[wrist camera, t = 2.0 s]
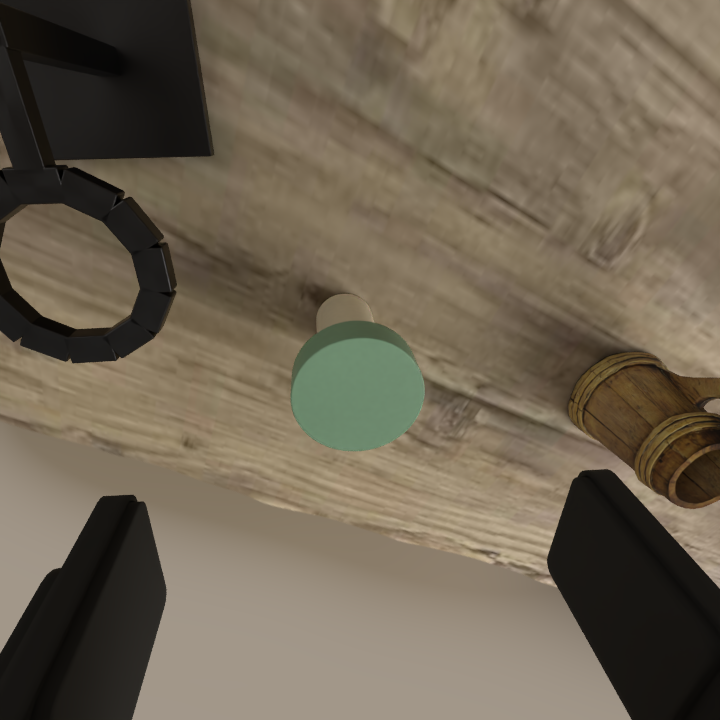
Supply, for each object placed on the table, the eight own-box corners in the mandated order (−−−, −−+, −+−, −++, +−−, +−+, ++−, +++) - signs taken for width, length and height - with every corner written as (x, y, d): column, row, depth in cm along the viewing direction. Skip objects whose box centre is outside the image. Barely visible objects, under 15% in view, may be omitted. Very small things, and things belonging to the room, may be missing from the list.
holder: (183, -49, 24) (85, -181, 14) (234, 280, 33) (199, 356, 22) (-15, -51, 23) (-281, -193, 13) (92, 287, 32) (-14, 368, 21)
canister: (392, 270, 34) (428, 333, 24) (391, 359, 37) (421, 446, 27) (291, 275, 33) (284, 342, 23) (299, 365, 37) (296, 456, 27)
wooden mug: (720, 334, 39) (995, 475, 24) (614, 445, 44) (783, 623, 29) (653, 290, 37) (913, 417, 21) (548, 413, 42) (694, 591, 26)
